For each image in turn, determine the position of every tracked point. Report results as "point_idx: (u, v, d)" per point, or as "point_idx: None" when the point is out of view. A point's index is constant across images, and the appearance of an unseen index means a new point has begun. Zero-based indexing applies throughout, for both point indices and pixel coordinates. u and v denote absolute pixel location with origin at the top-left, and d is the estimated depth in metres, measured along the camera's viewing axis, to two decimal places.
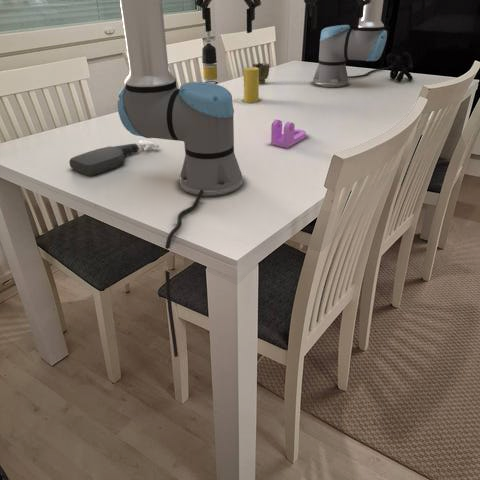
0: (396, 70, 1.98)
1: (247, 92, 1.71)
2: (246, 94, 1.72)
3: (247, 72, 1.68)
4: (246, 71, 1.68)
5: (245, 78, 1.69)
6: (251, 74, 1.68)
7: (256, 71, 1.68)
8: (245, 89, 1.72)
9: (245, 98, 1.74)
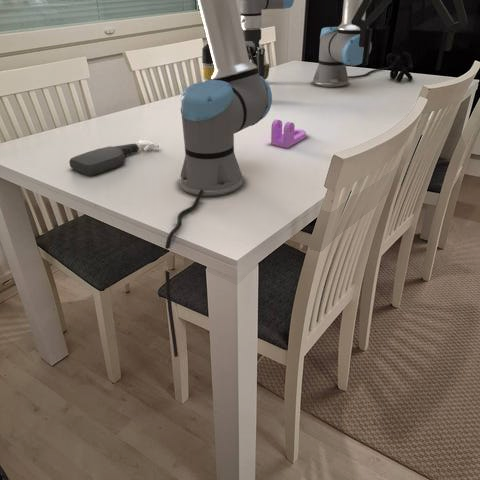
0: (396, 70, 1.98)
1: None
2: None
3: None
4: None
5: None
6: None
7: None
8: None
9: None
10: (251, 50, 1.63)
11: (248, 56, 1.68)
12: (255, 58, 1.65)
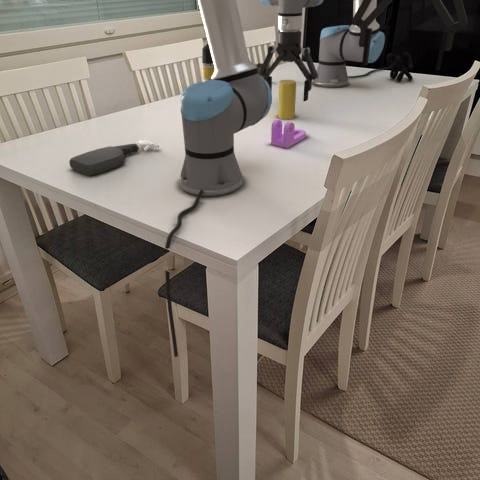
0: (396, 70, 1.98)
1: (287, 107, 1.52)
2: (285, 110, 1.53)
3: (288, 86, 1.48)
4: (286, 85, 1.48)
5: (284, 93, 1.50)
6: (292, 88, 1.49)
7: None
8: (284, 105, 1.52)
9: (283, 115, 1.54)
10: (293, 54, 1.43)
11: (280, 61, 1.48)
12: (300, 61, 1.45)
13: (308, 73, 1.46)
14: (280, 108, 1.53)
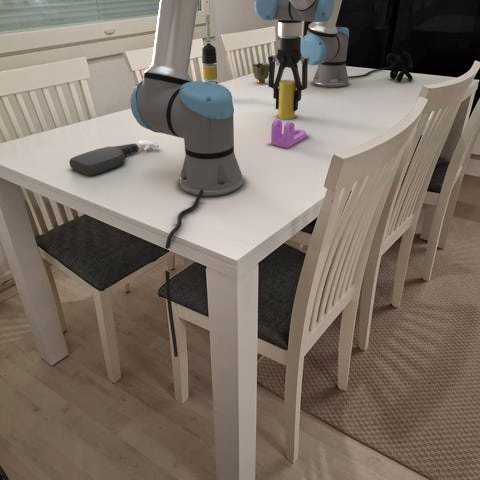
0: (396, 70, 1.98)
1: (287, 107, 1.52)
2: (285, 110, 1.53)
3: (288, 86, 1.48)
4: (286, 85, 1.48)
5: (284, 93, 1.50)
6: (292, 88, 1.49)
7: None
8: (284, 105, 1.52)
9: (283, 115, 1.54)
10: None
11: None
12: None
13: None
14: (280, 108, 1.53)
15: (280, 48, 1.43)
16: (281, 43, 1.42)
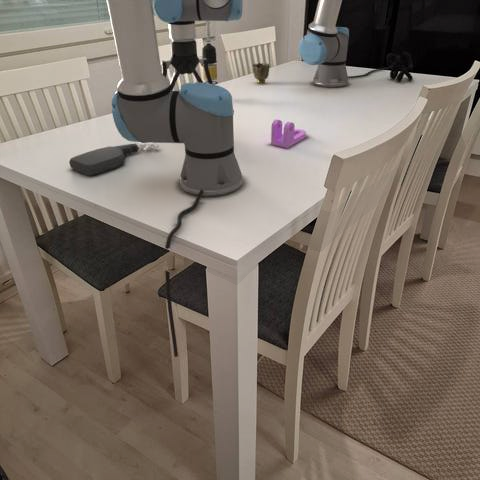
0: (396, 70, 1.98)
1: None
2: None
3: None
4: None
5: None
6: None
7: None
8: None
9: None
10: None
11: None
12: None
13: None
14: None
15: (178, 53, 1.27)
16: (179, 47, 1.26)
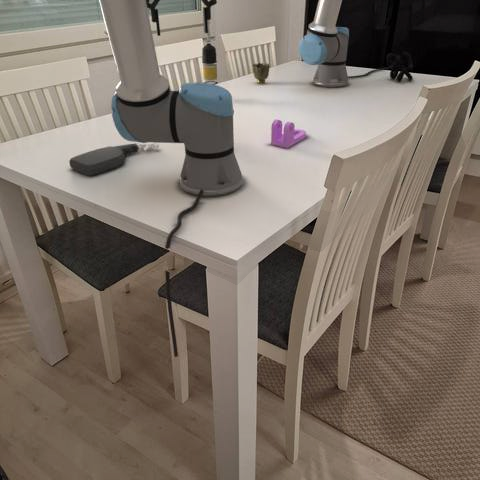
0: (396, 70, 1.98)
1: None
2: None
3: None
4: None
5: None
6: None
7: None
8: None
9: None
10: None
11: None
12: None
13: None
14: None
15: None
16: None
